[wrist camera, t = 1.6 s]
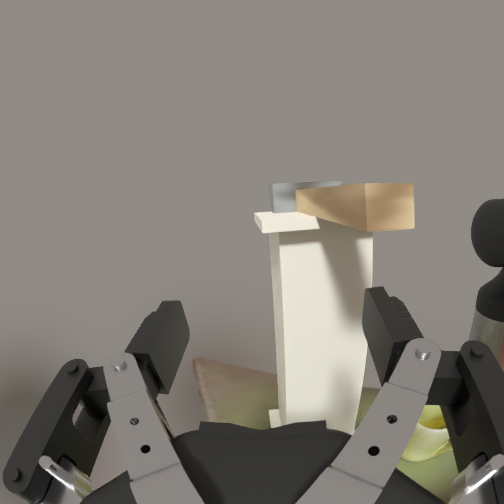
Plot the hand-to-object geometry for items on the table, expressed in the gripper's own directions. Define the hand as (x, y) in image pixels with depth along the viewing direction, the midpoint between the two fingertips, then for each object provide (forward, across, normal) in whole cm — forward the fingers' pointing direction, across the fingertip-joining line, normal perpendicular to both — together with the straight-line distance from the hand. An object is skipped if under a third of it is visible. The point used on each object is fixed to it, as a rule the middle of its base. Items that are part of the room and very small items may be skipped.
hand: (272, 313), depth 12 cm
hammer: (+14, -5, 0) cm, 14 cm away
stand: (+12, -3, +32) cm, 35 cm away
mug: (+5, -19, +32) cm, 38 cm away
